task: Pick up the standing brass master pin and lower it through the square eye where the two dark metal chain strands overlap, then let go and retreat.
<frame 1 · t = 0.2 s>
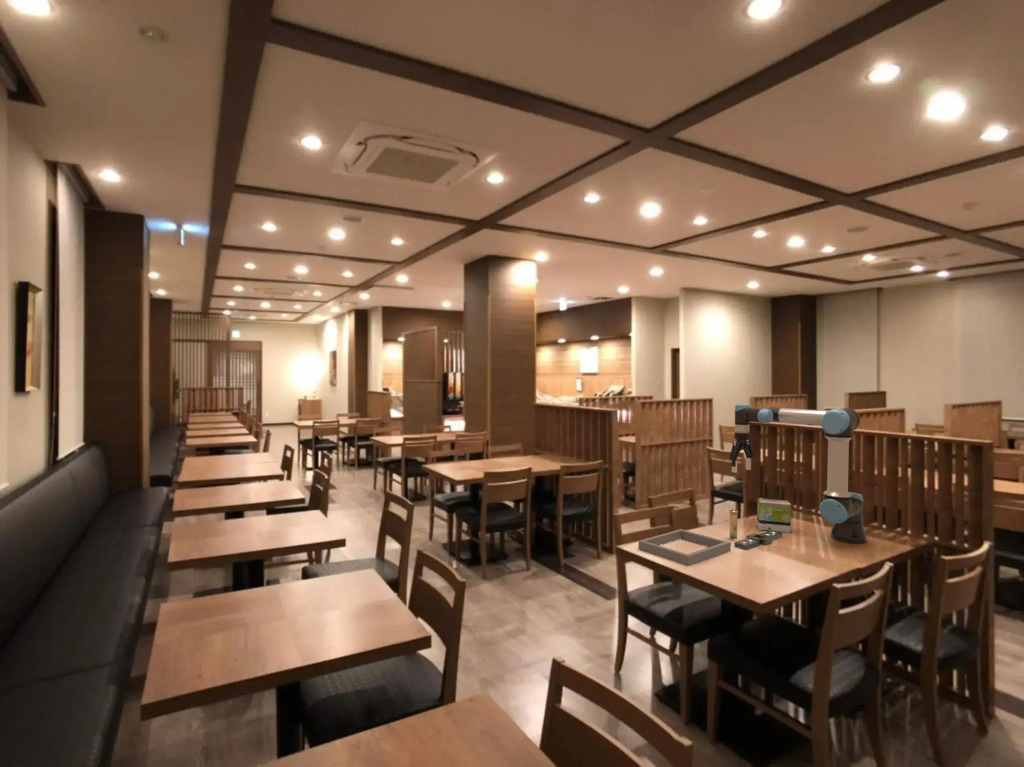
hand: (741, 471, 307), 28 cm above the table, fingers open, 13 cm apart
master pin: (733, 539, 276), on the table
chain ends: (759, 541, 272), on the table
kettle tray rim: (684, 550, 259), on the table
tea box: (773, 529, 294), on the table
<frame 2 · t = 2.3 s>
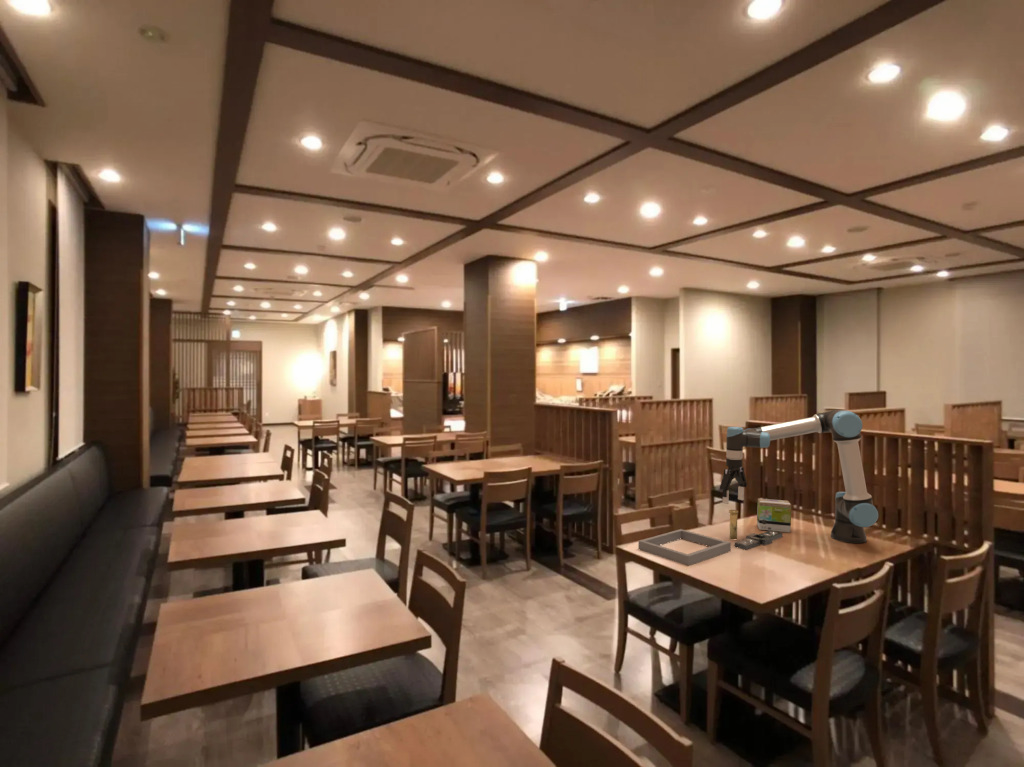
hand: (733, 501, 276), 18 cm above the table, fingers open, 13 cm apart
nothing on the table moved.
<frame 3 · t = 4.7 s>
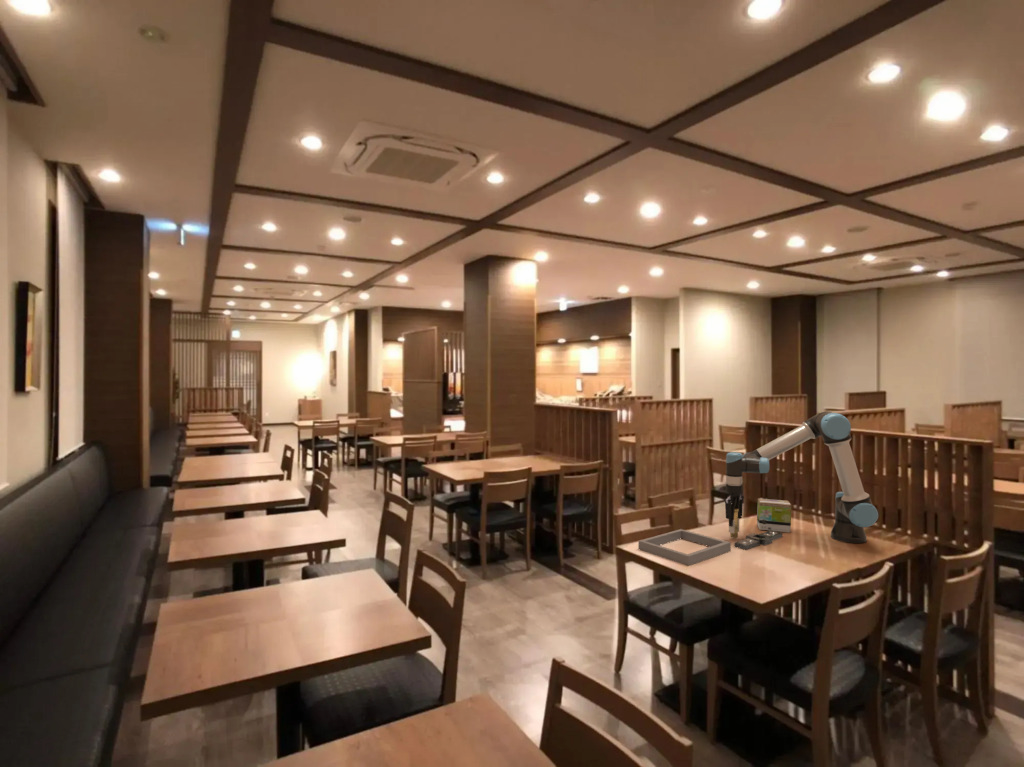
hand: (734, 531, 276), 4 cm above the table, fingers closed on master pin, 3 cm apart
master pin: (734, 537, 276), point 1 cm above the table, touching gripper
everything else where it was.
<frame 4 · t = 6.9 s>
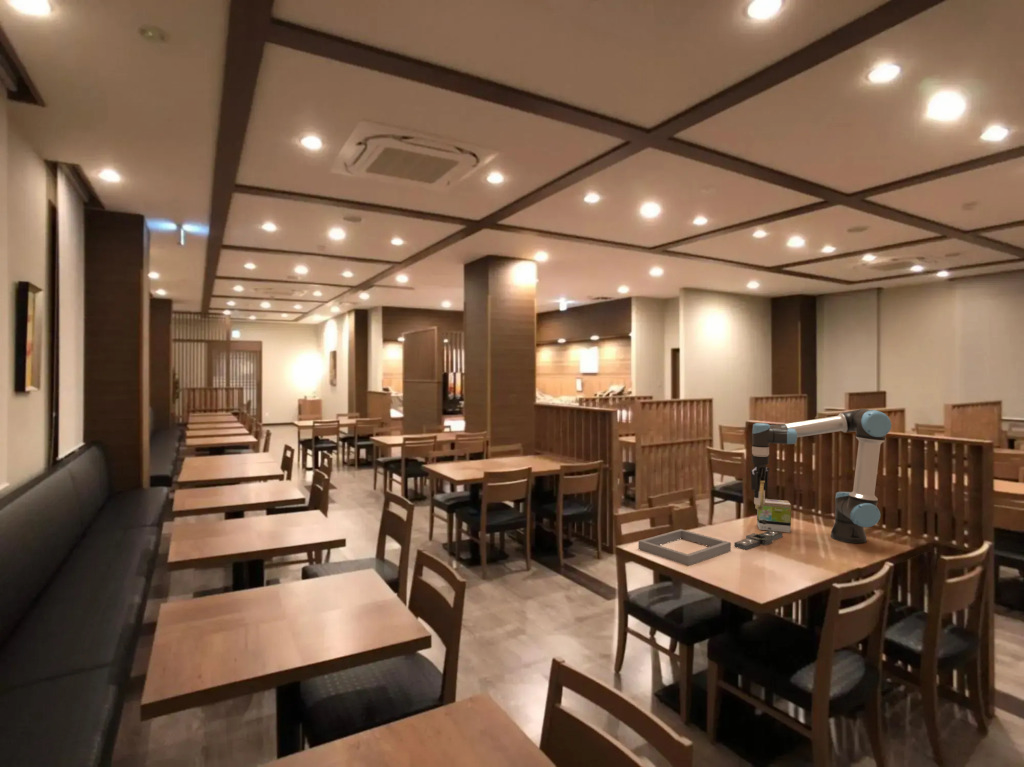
hand: (759, 503, 272), 19 cm above the table, fingers closed on master pin, 3 cm apart
master pin: (759, 508, 272), point 16 cm above the table, touching gripper
everything else where it was.
when the fingers open (4 cm above the table, at t = 9.5 s): master pin stays where it is, resting in chain ends.
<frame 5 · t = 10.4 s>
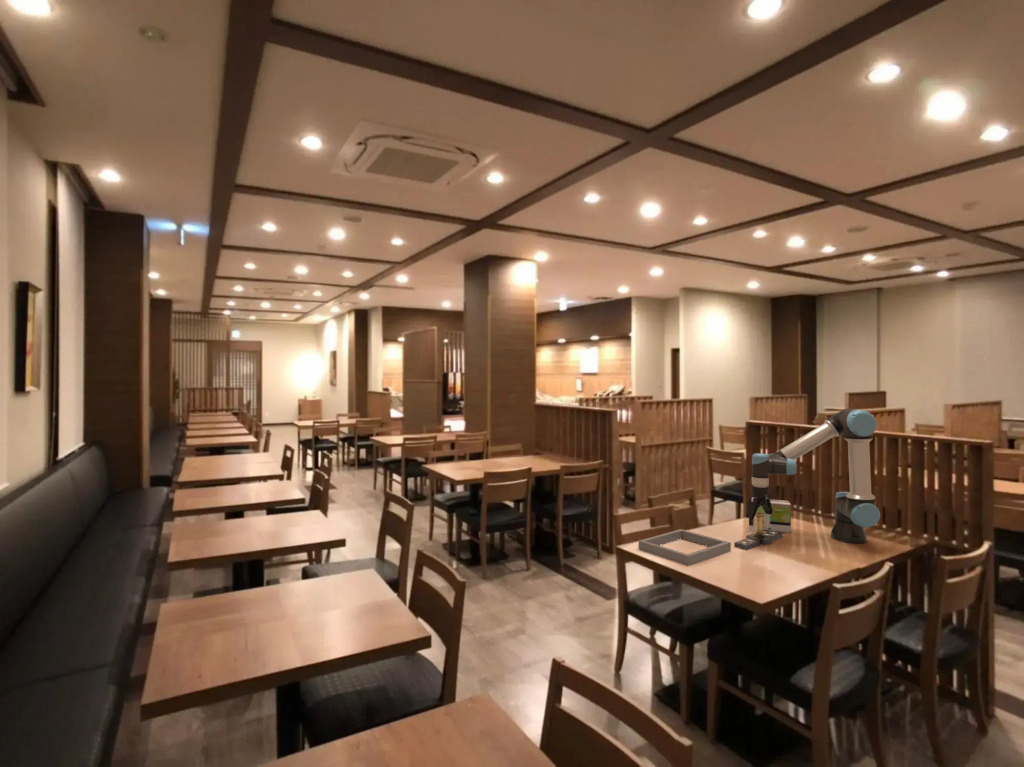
hand: (759, 529, 272), 6 cm above the table, fingers open, 13 cm apart
master pin: (759, 541, 272), resting in chain ends
everything else where it was.
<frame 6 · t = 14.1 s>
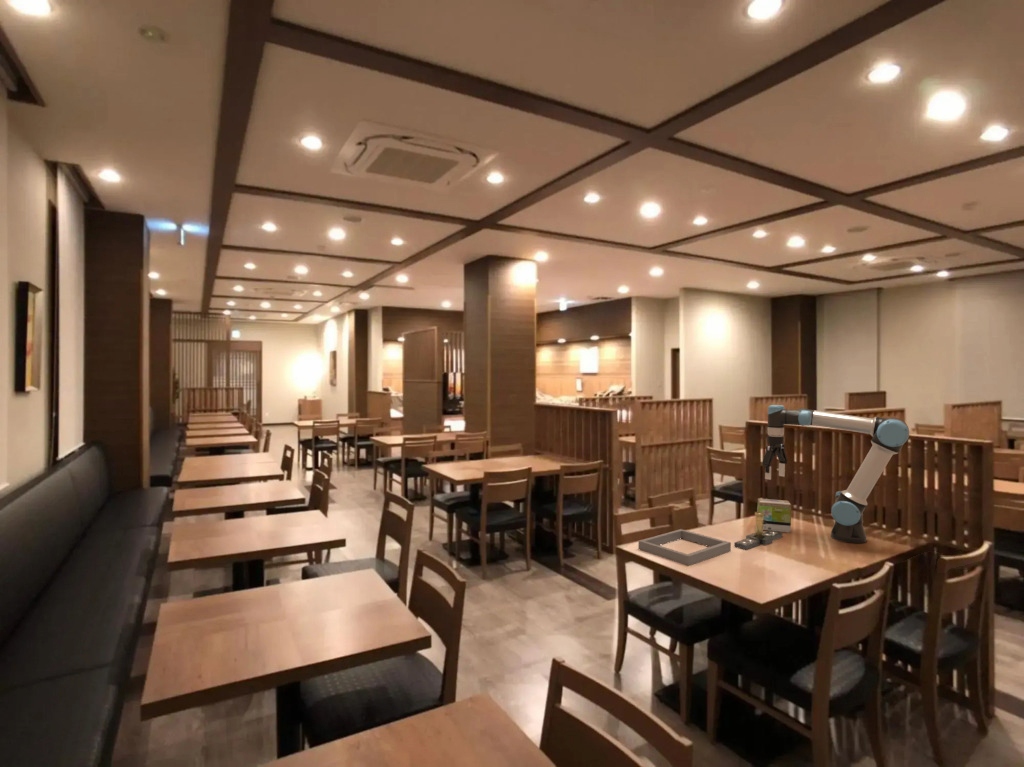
hand: (775, 477, 284), 29 cm above the table, fingers open, 13 cm apart
nothing on the table moved.
at the end: master pin 0.0 cm off-centre on the chain ends, point 0.0 cm above the chain ends's base; master pin tilted 0°; the gripper is holding nothing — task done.
